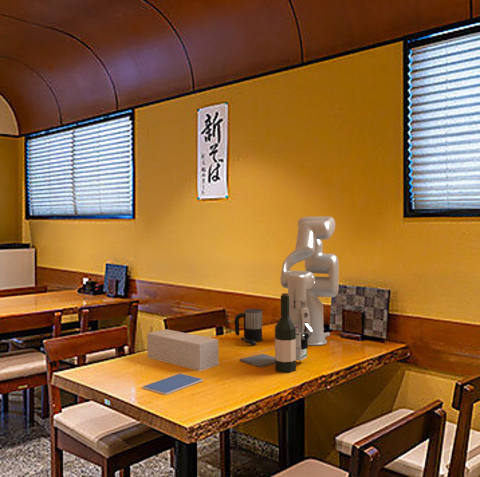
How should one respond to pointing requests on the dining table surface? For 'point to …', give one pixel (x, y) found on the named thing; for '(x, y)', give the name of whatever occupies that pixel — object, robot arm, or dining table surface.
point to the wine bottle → (285, 340)
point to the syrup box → (299, 346)
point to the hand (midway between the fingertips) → (297, 346)
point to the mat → (259, 360)
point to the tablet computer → (172, 384)
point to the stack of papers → (183, 349)
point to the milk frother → (250, 325)
